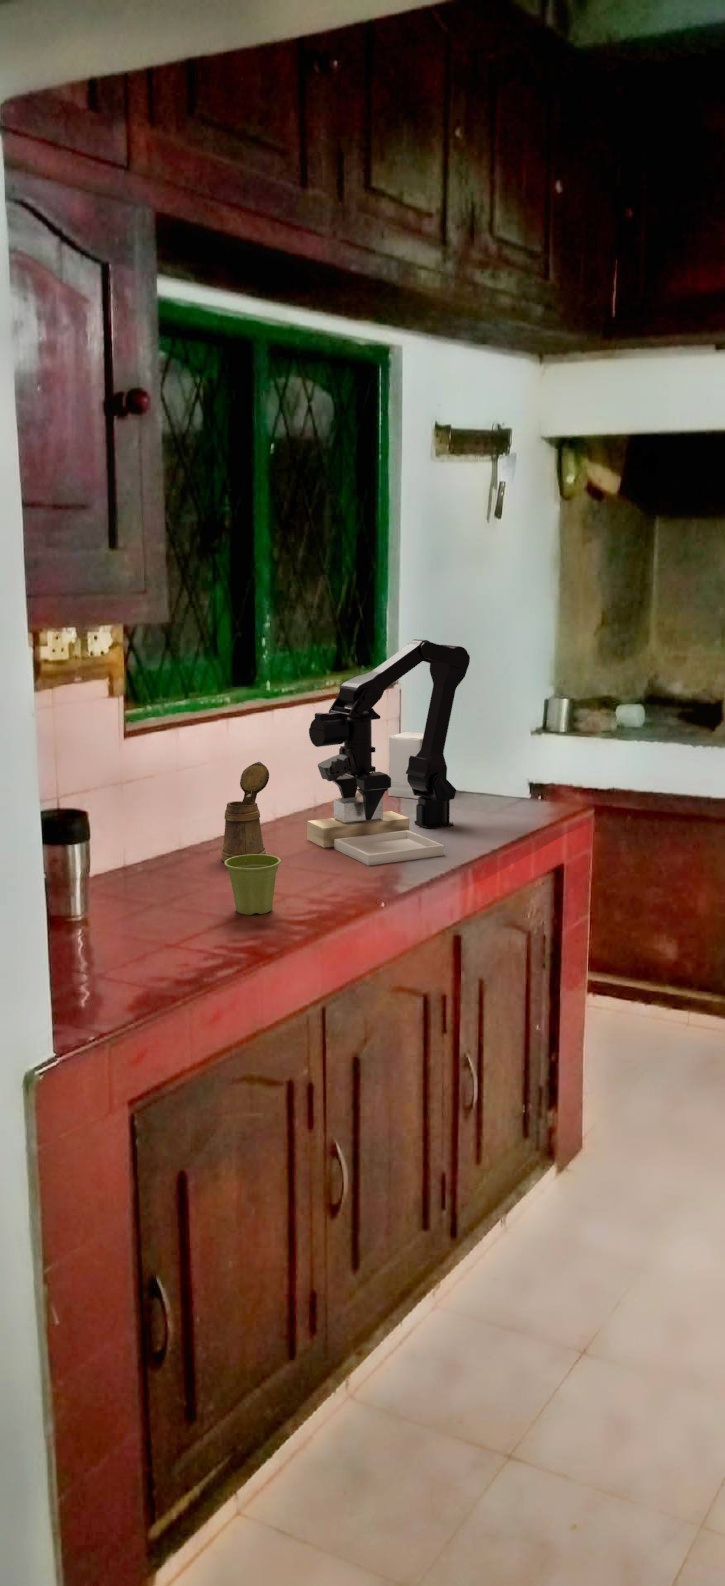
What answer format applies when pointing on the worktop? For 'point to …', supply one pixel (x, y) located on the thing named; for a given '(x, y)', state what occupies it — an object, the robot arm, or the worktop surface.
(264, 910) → the plant pot
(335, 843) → the parts tray
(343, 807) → the light grey block
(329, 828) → the light wood plank
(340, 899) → the worktop surface
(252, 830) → the wooden mug
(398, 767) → the supplement box
